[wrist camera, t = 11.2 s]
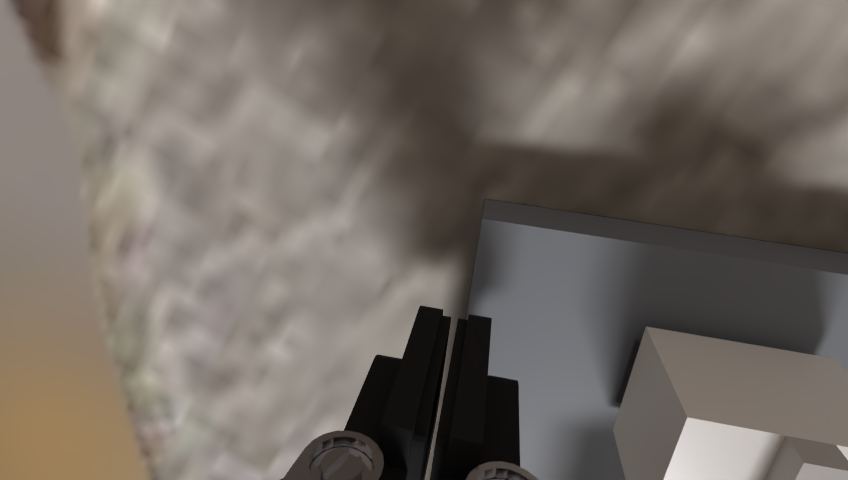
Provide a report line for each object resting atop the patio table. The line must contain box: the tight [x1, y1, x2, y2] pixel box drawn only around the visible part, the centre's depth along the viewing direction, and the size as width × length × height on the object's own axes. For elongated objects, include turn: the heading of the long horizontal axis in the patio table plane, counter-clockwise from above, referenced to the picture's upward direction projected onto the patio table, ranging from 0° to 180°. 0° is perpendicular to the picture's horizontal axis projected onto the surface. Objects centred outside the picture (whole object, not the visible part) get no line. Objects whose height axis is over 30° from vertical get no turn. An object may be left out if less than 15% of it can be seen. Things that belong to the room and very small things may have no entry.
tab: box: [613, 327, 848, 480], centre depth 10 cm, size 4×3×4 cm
